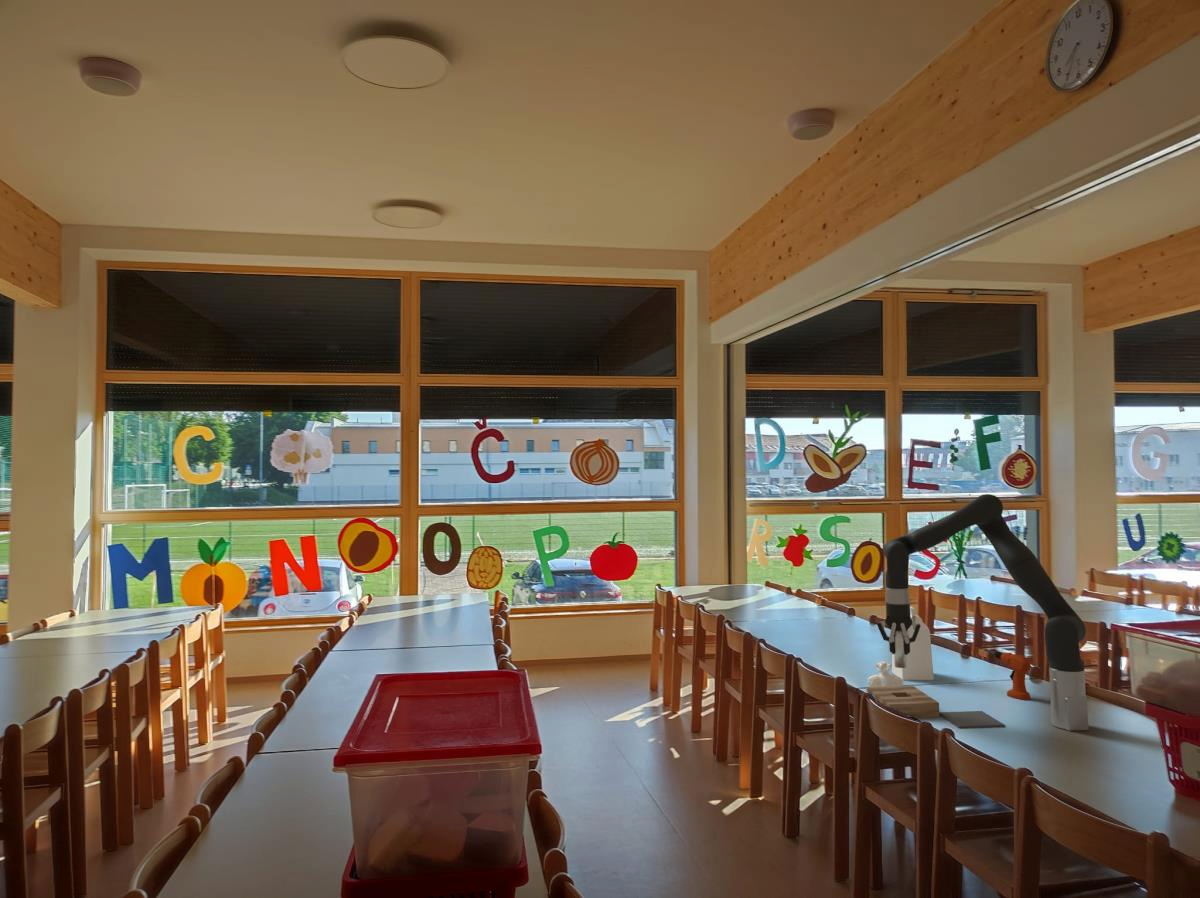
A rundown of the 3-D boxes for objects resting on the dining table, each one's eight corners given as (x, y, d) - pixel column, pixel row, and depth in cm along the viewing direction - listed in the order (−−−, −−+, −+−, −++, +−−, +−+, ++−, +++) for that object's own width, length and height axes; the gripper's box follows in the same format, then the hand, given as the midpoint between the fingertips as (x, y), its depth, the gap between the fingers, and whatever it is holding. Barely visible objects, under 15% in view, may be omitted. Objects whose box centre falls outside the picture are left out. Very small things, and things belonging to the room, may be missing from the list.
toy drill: (987, 681, 283) (990, 640, 282) (1033, 701, 266) (1036, 658, 265) (977, 683, 281) (980, 642, 280) (1022, 703, 264) (1026, 659, 263)
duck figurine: (902, 698, 278) (896, 667, 285) (906, 689, 272) (900, 658, 280) (867, 697, 280) (862, 667, 287) (871, 689, 274) (865, 658, 281)
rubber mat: (1004, 726, 238) (1004, 724, 238) (959, 728, 238) (958, 726, 238) (981, 712, 252) (981, 710, 252) (938, 714, 252) (938, 712, 252)
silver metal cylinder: (908, 667, 258) (906, 630, 258) (897, 668, 258) (895, 631, 258) (903, 665, 261) (902, 628, 262) (893, 665, 261) (891, 629, 262)
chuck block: (939, 717, 249) (939, 702, 249) (889, 718, 249) (888, 704, 249) (913, 699, 269) (913, 685, 269) (866, 700, 269) (866, 687, 269)
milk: (891, 672, 305) (889, 604, 306) (922, 671, 305) (919, 604, 306) (902, 680, 293) (899, 609, 294) (933, 679, 293) (931, 609, 294)
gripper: (921, 600, 261) (923, 653, 260) (876, 598, 266) (878, 650, 266) (920, 604, 254) (922, 658, 253) (874, 602, 260) (876, 655, 259)
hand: (899, 653), depth 259 cm, fingers closed on silver metal cylinder, 3 cm apart
